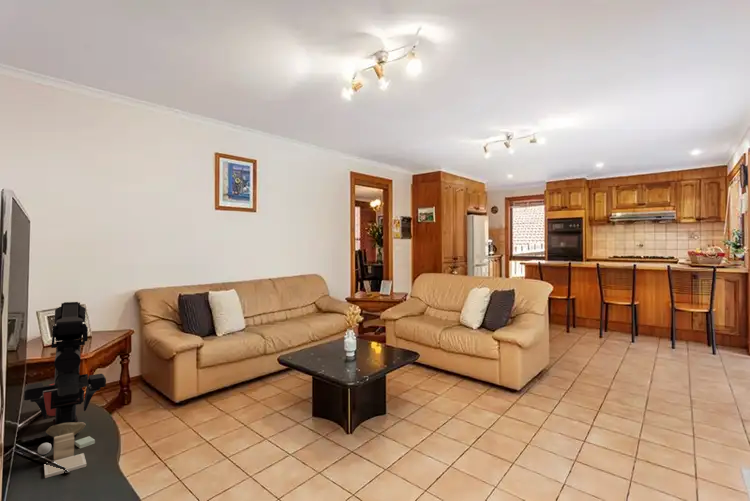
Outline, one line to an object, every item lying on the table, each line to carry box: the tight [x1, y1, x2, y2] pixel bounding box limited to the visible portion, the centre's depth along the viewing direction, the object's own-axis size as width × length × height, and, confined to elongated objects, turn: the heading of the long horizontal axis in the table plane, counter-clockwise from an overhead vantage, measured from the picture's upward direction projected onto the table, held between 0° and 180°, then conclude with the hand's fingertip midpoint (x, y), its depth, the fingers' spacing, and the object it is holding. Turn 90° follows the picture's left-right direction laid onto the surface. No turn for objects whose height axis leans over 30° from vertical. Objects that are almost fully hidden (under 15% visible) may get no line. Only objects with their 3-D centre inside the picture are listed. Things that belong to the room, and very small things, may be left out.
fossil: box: [45, 421, 87, 438], centre depth 122 cm, size 9×4×10 cm
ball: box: [37, 442, 52, 455], centre depth 114 cm, size 3×3×3 cm
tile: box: [74, 435, 96, 449], centre depth 121 cm, size 4×4×2 cm
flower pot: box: [44, 383, 56, 417], centre depth 141 cm, size 11×11×10 cm
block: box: [52, 433, 76, 461], centre depth 114 cm, size 4×4×6 cm
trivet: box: [43, 452, 87, 479], centre depth 108 cm, size 7×9×1 cm
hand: (65, 414), depth 114 cm, fingers open, 9 cm apart
